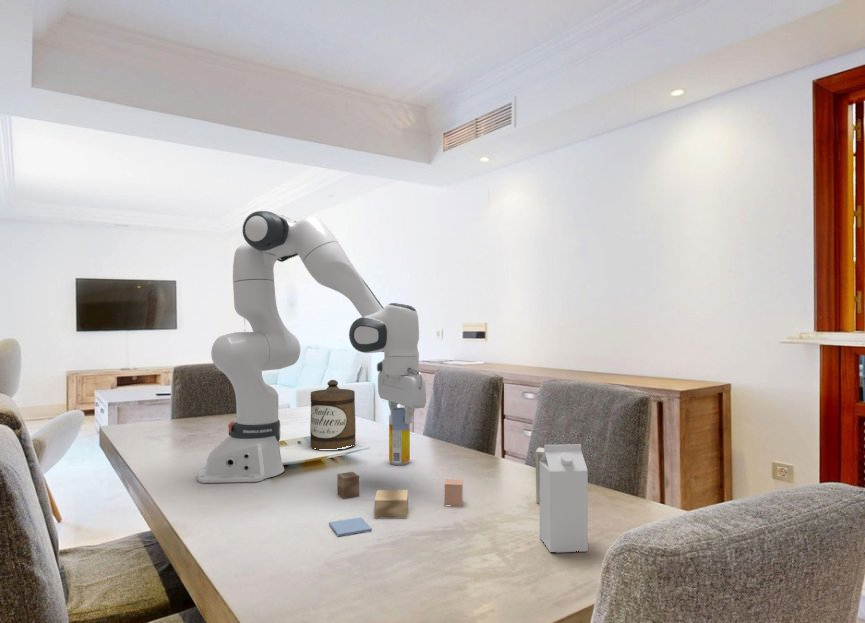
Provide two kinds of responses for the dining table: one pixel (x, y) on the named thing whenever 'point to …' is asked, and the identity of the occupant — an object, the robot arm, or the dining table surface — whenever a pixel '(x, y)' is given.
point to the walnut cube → (348, 485)
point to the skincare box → (538, 472)
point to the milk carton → (564, 498)
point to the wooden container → (332, 417)
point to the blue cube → (399, 419)
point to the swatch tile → (349, 526)
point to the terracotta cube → (453, 492)
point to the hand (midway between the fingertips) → (401, 420)
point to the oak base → (391, 503)
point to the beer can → (399, 445)
